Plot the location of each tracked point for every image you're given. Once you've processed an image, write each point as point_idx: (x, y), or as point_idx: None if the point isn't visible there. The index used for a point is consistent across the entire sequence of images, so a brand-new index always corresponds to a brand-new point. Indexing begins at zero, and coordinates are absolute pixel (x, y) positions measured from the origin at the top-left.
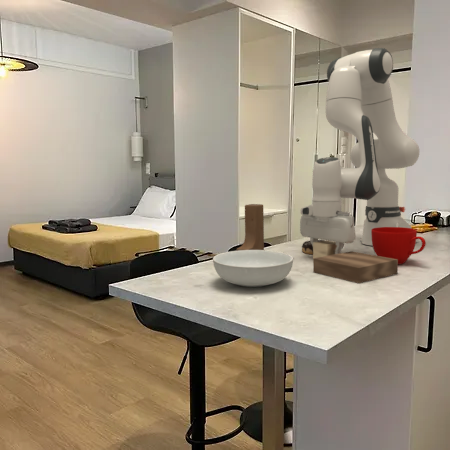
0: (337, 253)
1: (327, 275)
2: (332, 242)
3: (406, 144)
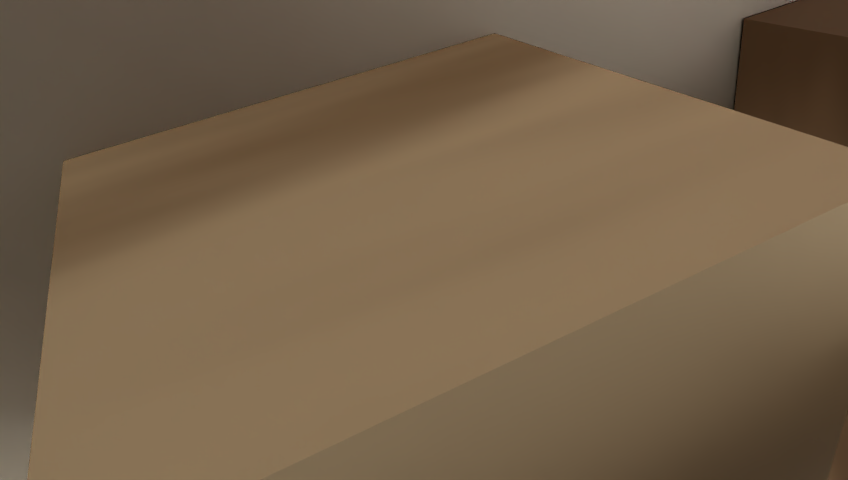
0: None
1: None
2: (689, 438)
3: None
